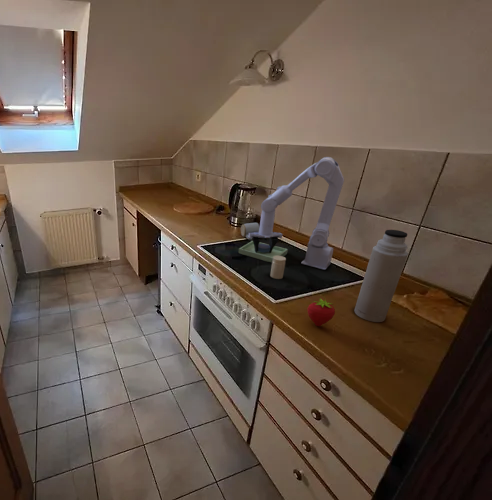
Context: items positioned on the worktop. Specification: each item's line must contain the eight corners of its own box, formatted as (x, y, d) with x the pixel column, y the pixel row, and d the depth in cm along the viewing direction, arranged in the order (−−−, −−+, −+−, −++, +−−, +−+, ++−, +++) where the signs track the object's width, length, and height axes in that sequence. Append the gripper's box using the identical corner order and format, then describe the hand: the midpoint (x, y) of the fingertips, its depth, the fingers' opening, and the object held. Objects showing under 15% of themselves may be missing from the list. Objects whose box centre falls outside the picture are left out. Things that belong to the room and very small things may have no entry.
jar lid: (267, 247, 142) (268, 243, 142) (271, 252, 137) (272, 248, 136) (254, 247, 143) (255, 243, 142) (258, 252, 137) (258, 248, 137)
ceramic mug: (239, 234, 164) (240, 221, 161) (253, 233, 165) (255, 220, 162) (246, 241, 155) (248, 227, 152) (261, 241, 155) (263, 227, 152)
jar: (284, 275, 120) (287, 257, 117) (280, 280, 117) (284, 261, 113) (272, 272, 123) (275, 254, 120) (268, 276, 119) (271, 258, 116)
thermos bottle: (348, 307, 98) (371, 227, 87) (372, 306, 98) (398, 226, 87) (366, 322, 91) (393, 237, 80) (391, 321, 91) (422, 236, 80)
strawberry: (300, 320, 93) (305, 292, 89) (323, 319, 93) (330, 291, 89) (310, 332, 88) (317, 303, 84) (335, 331, 88) (343, 302, 84)
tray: (287, 253, 139) (288, 249, 138) (274, 263, 130) (275, 258, 129) (252, 244, 151) (252, 240, 150) (238, 253, 142) (238, 248, 141)
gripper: (252, 227, 132) (249, 255, 137) (286, 227, 131) (281, 255, 136) (248, 222, 138) (245, 249, 144) (280, 222, 137) (276, 249, 142)
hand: (262, 251), depth 140 cm, fingers closed on jar lid, 6 cm apart
